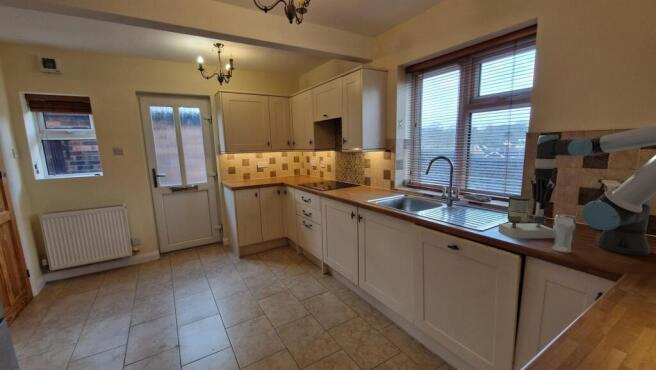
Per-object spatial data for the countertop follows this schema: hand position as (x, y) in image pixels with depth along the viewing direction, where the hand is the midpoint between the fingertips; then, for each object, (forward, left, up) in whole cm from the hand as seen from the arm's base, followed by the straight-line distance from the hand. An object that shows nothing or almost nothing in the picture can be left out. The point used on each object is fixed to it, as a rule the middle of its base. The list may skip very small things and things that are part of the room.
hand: (539, 215), depth 131 cm
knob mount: (0, +6, -10) cm, 12 cm away
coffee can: (+25, -7, -10) cm, 28 cm away
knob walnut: (0, +12, -6) cm, 14 cm away
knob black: (0, 0, -6) cm, 6 cm away
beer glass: (-20, +5, -10) cm, 23 cm away
